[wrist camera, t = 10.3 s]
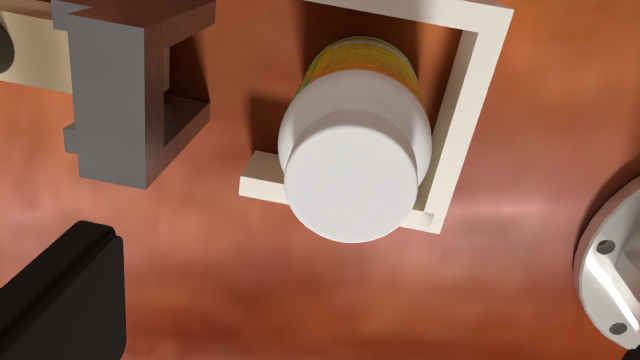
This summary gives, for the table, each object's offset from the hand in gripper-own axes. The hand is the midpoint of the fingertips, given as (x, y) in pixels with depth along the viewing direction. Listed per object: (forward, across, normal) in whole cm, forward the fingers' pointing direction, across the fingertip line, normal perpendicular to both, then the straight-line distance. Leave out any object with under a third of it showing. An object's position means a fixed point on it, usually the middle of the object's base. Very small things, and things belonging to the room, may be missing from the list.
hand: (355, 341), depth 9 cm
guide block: (+15, +10, 0) cm, 18 cm away
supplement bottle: (+16, +1, 0) cm, 16 cm away
